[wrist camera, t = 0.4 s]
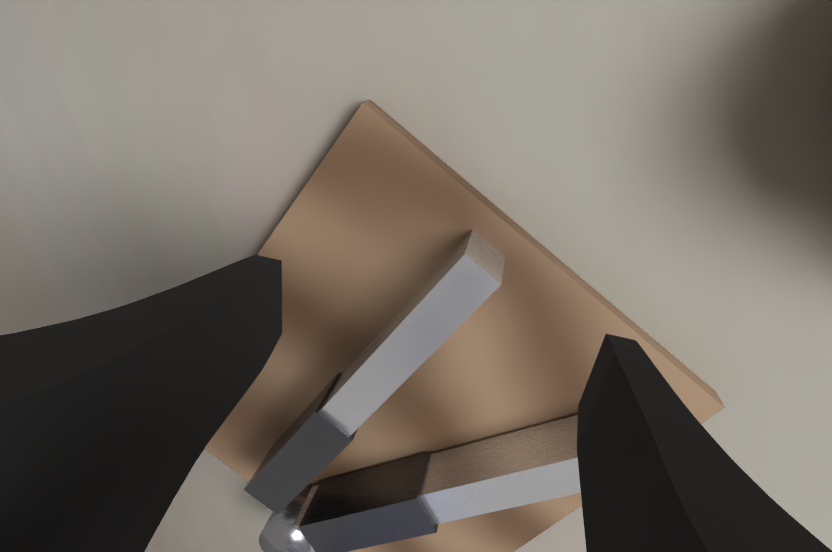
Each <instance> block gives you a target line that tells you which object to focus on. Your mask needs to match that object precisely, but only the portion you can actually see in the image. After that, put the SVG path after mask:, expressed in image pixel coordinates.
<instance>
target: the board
mask: <svg viewBox="0 0 832 552" xmlns="http://www.w3.org/2000/svg"><path fill="white" fill-rule="evenodd" d="M472 230H474V231H475V232H476V233H478V234H479V235H480V236H481V237H482V238H484V239H485V240H486V241H487V242H488V243H490V244H491V245H492V246H493V247H494V248H496V249H497V250H498V251H499V252H500V253H502V254H503V255H504V256H505V261H504V268H503V276H502V283H501V285H500V286H499V287H498V288H497V289H496V290H495V291H494V292H493V293H492V294H491V295H490V296H489V297H488V298H487V299H486V300H485V301H484V302H483V303H482V304H481V305H480V306H479V307H478V308H477V309H476V310H475V311H474V312H473V313H472V314H471V315H470V316H469V317H468V318H467V319H466V321H465V322H464V323H463V324H462V325H461V326H460V327H459V328H458V329H457V330H456V331H455V332H454V333H453V334H452V335H451V336H450V337H449V338H448V339H447V340H446V341H445V342H444V343H443V344H442V345H441V346H440V347H439V348H438V349H437V350H436V351H435V352H434V353H433V354H432V355H431V356H430V357H429V358H428V359H427V360H426V361H425V362H424V363H423V364H422V365H421V366H420V367H419V368H418V369H417V370H416V371H415V372H414V373H413V374H412V375H411V376H410V377H409V378H408V379H407V380H406V381H405V382H404V383H403V384H402V385H401V386H400V387H399V388H398V389H397V390H396V391H395V392H394V393H393V394H392V395H391V396H390V397H389V398H388V399H387V400H386V401H385V402H384V403H383V404H382V405H381V406H380V407H379V408H378V409H377V410H376V411H375V412H374V413H373V414H372V415H371V416H370V417H369V418H368V419H367V420H366V421H365V422H364V423H363V424H362V425H361V426H360V427H359V428H358V430H357V432H356V434H355V437H354V439H353V441H352V442H351V443H350V444H349V445H348V446H347V447H346V448H345V449H344V450H343V451H342V452H341V453H340V454H339V455H338V456H337V457H336V458H335V459H334V460H332V461H331V462H330V463H329V464H328V465H327V466H326V467H325V468H324V469H323V470H322V471H321V472H320V473H319V474H318V475H317V476H316V477H315V478H314V479H313V480H312V481H311V482H310V483H309V484H308V485H310V486H315V485H319V484H320V482H321V481H324V480H327V479H331V478H335V477H338V476H342V475H346V474H349V473H353V472H357V471H360V470H364V469H368V468H371V467H375V466H379V465H382V464H386V463H390V462H394V461H397V460H401V459H405V458H408V457H412V456H416V455H419V454H423V453H427V452H429V454H434V453H438V452H441V451H445V450H449V449H452V448H456V447H460V446H464V445H467V444H471V443H475V442H478V441H482V440H486V439H490V438H493V437H497V436H501V435H504V434H508V433H512V432H516V431H519V430H523V429H527V428H530V427H534V426H538V425H542V424H545V423H549V422H553V421H556V420H560V419H564V418H568V417H571V416H575V415H578V405H579V402H580V400H581V397H582V394H583V392H584V389H585V387H586V384H587V381H588V379H589V376H590V373H591V371H592V368H593V366H594V363H595V360H596V358H597V355H598V353H599V350H600V347H601V345H602V342H603V340H604V337H605V334H610V335H615V336H619V337H624V338H628V339H633V340H636V341H637V342H638V344H639V345H640V346H641V347H642V349H643V350H644V351H645V353H646V354H647V355H648V357H649V358H650V359H651V361H652V362H653V363H654V365H655V366H656V368H657V369H658V370H659V372H660V373H661V374H662V376H663V377H664V378H665V380H666V381H667V382H668V384H669V385H670V386H671V388H672V389H673V390H674V392H675V393H676V394H677V395H678V397H679V398H680V399H681V401H682V402H683V403H684V404H685V406H686V407H687V408H688V409H689V411H690V412H691V413H692V414H693V415H694V417H695V418H696V419H697V420H698V421H699V423H700V424H701V423H703V422H704V421H706V420H707V419H709V418H710V417H712V416H713V415H714V414H716V413H717V412H719V411H720V410H722V409H723V408H725V407H724V405H723V404H722V402H721V400H720V398H719V396H718V394H717V393H716V392H715V391H714V390H713V389H712V388H711V387H709V386H708V385H707V384H706V383H705V382H703V381H702V380H701V379H700V378H699V377H698V376H696V375H695V374H694V373H693V372H692V371H690V370H689V369H688V368H687V367H686V366H685V365H683V364H682V363H681V362H680V361H679V360H677V359H676V358H675V357H674V356H673V355H672V354H670V353H669V352H668V351H667V350H666V349H664V348H663V347H662V346H661V345H660V344H659V343H657V342H656V341H655V340H654V339H653V338H651V337H650V336H649V335H648V334H647V333H646V332H644V331H643V330H642V329H641V328H640V327H638V326H637V325H636V324H635V323H634V322H632V321H631V320H630V319H629V318H628V317H627V316H625V315H624V314H623V313H622V312H621V311H619V310H618V309H617V308H616V307H615V306H614V305H612V304H611V303H610V302H609V301H608V300H606V299H605V298H604V297H603V296H602V295H601V294H599V293H598V292H597V291H596V290H595V289H593V288H592V287H591V286H590V285H589V284H588V283H586V282H585V281H584V280H583V279H582V278H580V277H579V276H578V275H577V274H576V273H575V272H573V271H572V270H571V269H570V268H569V267H567V266H566V265H565V264H564V263H563V262H562V261H560V260H559V259H558V258H557V257H556V256H554V255H553V254H552V253H551V252H550V251H549V250H547V249H546V248H545V247H544V246H543V245H541V244H540V243H539V242H538V241H537V240H536V239H534V238H533V237H532V236H531V235H530V234H528V233H527V232H526V231H525V230H524V229H523V228H521V227H520V226H519V225H518V224H517V223H515V222H514V221H513V220H512V219H511V218H510V217H508V216H507V215H506V214H505V213H504V212H502V211H501V210H500V209H499V208H498V207H497V206H495V205H494V204H493V203H492V202H491V201H489V200H488V199H487V198H486V197H485V196H483V195H482V194H481V193H480V192H479V191H478V190H476V189H475V188H474V187H473V186H472V185H470V184H469V183H468V182H467V181H466V180H465V179H463V178H462V177H461V176H460V175H459V174H457V173H456V172H455V171H454V170H453V169H452V168H450V167H449V166H448V165H447V164H446V163H444V162H443V161H442V160H441V159H440V158H439V157H437V156H436V155H435V154H434V153H433V152H431V151H430V150H429V149H428V148H427V147H426V146H424V145H423V144H422V143H421V142H420V141H418V140H417V139H416V138H415V137H414V136H413V135H411V134H410V133H409V132H408V131H407V130H405V129H404V128H403V127H402V126H401V125H400V124H398V123H397V122H396V121H395V120H394V119H392V118H391V117H390V116H389V115H388V114H387V113H385V112H384V111H383V110H382V109H381V108H379V107H378V106H377V105H376V104H375V103H374V102H372V101H371V100H369V101H365V102H363V103H362V104H361V106H360V107H359V109H358V110H357V111H356V113H355V114H354V116H353V117H352V119H351V120H350V122H349V123H348V124H347V126H346V127H345V129H344V130H343V132H342V133H341V135H340V136H339V137H338V139H337V140H336V142H335V143H334V145H333V146H332V148H331V149H330V150H329V152H328V153H327V155H326V156H325V158H324V159H323V161H322V162H321V163H320V165H319V166H318V168H317V169H316V171H315V172H314V174H313V175H312V176H311V178H310V179H309V181H308V182H307V184H306V185H305V187H304V188H303V189H302V191H301V192H300V194H299V195H298V197H297V198H296V200H295V201H294V202H293V204H292V205H291V207H290V208H289V210H288V211H287V212H286V214H285V215H284V217H283V218H282V220H281V221H280V223H279V224H278V225H277V227H276V228H275V230H274V231H273V233H272V234H271V236H270V237H269V238H268V240H267V241H266V243H265V244H264V246H263V247H262V249H261V250H260V251H259V253H258V254H257V255H259V256H264V257H268V258H273V259H277V260H281V261H282V335H281V337H280V338H279V340H278V342H277V344H276V346H275V348H274V350H273V352H272V354H271V356H270V357H269V359H268V361H267V363H266V364H265V366H264V368H263V370H262V371H261V372H260V374H259V375H258V377H257V378H256V379H255V381H254V382H253V383H252V385H251V386H250V388H249V389H248V390H247V392H246V393H245V394H244V396H243V397H242V398H241V400H240V401H239V402H238V404H237V405H236V406H235V408H234V409H233V410H232V412H231V413H230V414H229V416H228V417H227V418H226V420H225V421H224V422H223V424H222V425H221V426H220V428H219V429H218V431H217V432H216V433H215V435H214V436H213V437H212V439H211V440H210V441H209V443H208V444H207V445H206V447H205V448H204V449H205V450H207V451H208V452H209V453H211V454H212V455H213V456H215V457H216V458H218V459H219V460H220V461H222V462H223V463H224V464H226V465H227V466H228V467H230V468H231V469H232V470H234V471H235V472H236V473H238V474H239V475H241V476H242V477H243V478H245V479H246V480H247V481H250V479H251V478H252V476H253V475H254V473H255V472H256V470H257V469H258V467H259V465H260V464H261V462H262V461H263V459H264V458H265V456H266V455H267V453H268V452H269V450H270V449H271V447H272V446H273V445H274V444H275V442H276V441H277V440H278V439H279V438H280V437H281V436H282V435H283V434H284V432H285V431H286V430H287V429H288V428H289V427H290V426H291V425H292V424H293V422H294V421H295V420H296V419H297V418H298V417H299V416H300V415H301V414H302V412H303V411H304V410H305V409H306V408H307V407H308V406H309V405H310V404H311V402H312V401H313V400H314V399H315V398H316V397H317V396H318V395H319V394H320V393H321V391H322V390H323V389H324V388H325V387H326V386H327V385H328V384H329V383H330V381H331V380H332V379H333V378H334V377H335V376H336V375H337V374H338V373H339V372H340V373H341V374H342V373H343V372H344V371H345V370H346V369H347V368H348V367H349V365H350V364H351V363H352V362H353V361H354V360H355V359H356V358H357V357H358V355H359V354H360V353H361V352H362V351H363V350H364V349H365V348H366V347H367V346H368V344H369V343H370V342H371V341H372V340H373V339H374V338H375V337H376V336H377V335H378V333H379V332H380V331H381V330H382V329H383V328H384V327H385V326H386V325H387V324H388V322H389V321H390V320H391V319H392V318H393V317H394V316H395V315H396V314H397V313H398V311H399V310H400V309H401V308H402V307H403V306H404V305H405V304H406V303H407V301H408V300H409V299H410V298H411V297H412V296H413V295H414V294H415V293H416V292H417V290H418V289H419V288H420V287H421V286H422V285H423V284H424V283H425V282H426V281H427V279H428V278H429V277H430V276H431V275H432V274H433V273H434V272H435V271H436V270H437V268H438V267H439V266H440V265H441V264H442V263H443V262H444V261H445V260H446V259H447V257H448V256H449V255H450V254H451V253H452V252H453V251H454V250H455V249H456V247H457V246H458V245H459V244H460V243H461V242H462V241H463V240H464V239H465V238H466V236H467V235H468V234H469V233H470V232H471V231H472ZM581 505H582V498H581V493H577V494H573V495H568V496H564V497H559V498H554V499H550V500H545V501H541V502H536V503H532V504H527V505H522V506H518V507H513V508H509V509H504V510H500V511H495V512H490V513H486V514H481V515H477V516H472V517H468V518H463V519H458V520H454V521H449V522H445V523H440V524H438V529H437V533H433V534H428V535H424V536H419V537H414V538H410V539H405V540H400V541H396V542H391V543H386V544H381V545H377V546H372V547H367V548H363V549H358V550H353V551H349V552H514V551H516V550H517V549H518V548H520V547H521V546H523V545H524V544H526V543H527V542H529V541H530V540H532V539H533V538H535V537H536V536H537V535H539V534H540V533H542V532H543V531H545V530H546V529H548V528H549V527H551V526H552V525H554V524H555V523H556V522H558V521H559V520H561V519H562V518H564V517H565V516H567V515H568V514H570V513H571V512H573V511H574V510H575V509H577V508H578V507H580V506H581Z"/></svg>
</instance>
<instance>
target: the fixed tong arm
mask: <svg viewBox="0 0 832 552" xmlns="http://www.w3.org/2000/svg"><path fill="white" fill-rule="evenodd" d="M504 261H505V256H504V255H503V254H502V253H500V252H499V251H498V250H497V249H496V248H494V247H493V246H492V245H491V244H490V243H488V242H487V241H486V240H485V239H484V238H482V237H481V236H480V235H479V234H478V233H476V232H475V231H474V230H472V231H471V232H470V233H469V234H468V235H467V236H466V238H465V239H464V240H463V241H462V242H461V243H460V244H459V245H458V246H457V247H456V249H455V250H454V251H453V252H452V253H451V254H450V255H449V256H448V257H447V259H446V260H445V261H444V262H443V263H442V264H441V265H440V266H439V267H438V268H437V270H436V271H435V272H434V273H433V274H432V275H431V276H430V277H429V278H428V279H427V281H426V282H425V283H424V284H423V285H422V286H421V287H420V288H419V289H418V290H417V292H416V293H415V294H414V295H413V296H412V297H411V298H410V299H409V300H408V301H407V303H406V304H405V305H404V306H403V307H402V308H401V309H400V310H399V311H398V313H397V314H396V315H395V316H394V317H393V318H392V319H391V320H390V321H389V322H388V324H387V325H386V326H385V327H384V328H383V329H382V330H381V331H380V332H379V333H378V335H377V336H376V337H375V338H374V339H373V340H372V341H371V342H370V343H369V344H368V346H367V347H366V348H365V349H364V350H363V351H362V352H361V353H360V354H359V355H358V357H357V358H356V359H355V360H354V361H353V362H352V363H351V364H350V365H349V367H348V368H347V369H346V370H345V371H344V372H343V373H342V374H341V373H340V372H339V373H338V374H337V375H336V376H335V377H334V378H333V379H332V380H331V381H330V383H329V384H328V385H327V386H326V387H325V388H324V389H323V390H322V391H321V393H320V394H319V395H318V396H317V397H316V398H315V399H314V400H313V401H312V402H311V404H310V405H309V406H308V407H307V408H306V409H305V410H304V411H303V412H302V414H301V415H300V416H299V417H298V418H297V419H296V420H295V421H294V422H293V424H292V425H291V426H290V427H289V428H288V429H287V430H286V431H285V432H284V434H283V435H282V436H281V437H280V438H279V439H278V440H277V441H276V442H275V444H274V445H273V446H272V447H271V449H270V450H269V452H268V453H267V455H266V456H265V458H264V459H263V461H262V462H261V464H260V465H259V467H258V469H257V470H256V472H255V473H254V475H253V476H252V478H251V479H250V481H249V482H248V484H247V485H246V487H245V488H244V490H245V491H246V492H248V493H249V494H251V495H252V496H253V497H255V498H256V499H257V500H259V501H260V502H261V503H263V504H264V505H266V506H267V507H268V508H270V509H271V510H272V511H274V512H275V513H276V514H279V513H280V512H281V511H282V510H283V509H284V508H285V507H286V506H287V505H288V504H289V503H290V502H291V501H292V500H293V499H294V498H295V497H296V496H297V495H298V494H299V493H300V492H301V491H302V490H303V489H304V488H305V487H306V486H307V485H308V484H309V483H310V482H311V481H312V480H313V479H314V478H315V477H316V476H317V475H318V474H319V473H320V472H321V471H322V470H323V469H324V468H325V467H326V466H327V465H328V464H329V463H330V462H331V461H332V460H334V459H335V458H336V457H337V456H338V455H339V454H340V453H341V452H342V451H343V450H344V449H345V448H346V447H347V446H348V445H349V444H350V443H351V442H352V441H353V439H354V437H355V434H356V432H357V430H358V428H359V427H360V426H361V425H362V424H363V423H364V422H365V421H366V420H367V419H368V418H369V417H370V416H371V415H372V414H373V413H374V412H375V411H376V410H377V409H378V408H379V407H380V406H381V405H382V404H383V403H384V402H385V401H386V400H387V399H388V398H389V397H390V396H391V395H392V394H393V393H394V392H395V391H396V390H397V389H398V388H399V387H400V386H401V385H402V384H403V383H404V382H405V381H406V380H407V379H408V378H409V377H410V376H411V375H412V374H413V373H414V372H415V371H416V370H417V369H418V368H419V367H420V366H421V365H422V364H423V363H424V362H425V361H426V360H427V359H428V358H429V357H430V356H431V355H432V354H433V353H434V352H435V351H436V350H437V349H438V348H439V347H440V346H441V345H442V344H443V343H444V342H445V341H446V340H447V339H448V338H449V337H450V336H451V335H452V334H453V333H454V332H455V331H456V330H457V329H458V328H459V327H460V326H461V325H462V324H463V323H464V322H465V321H466V319H467V318H468V317H469V316H470V315H471V314H472V313H473V312H474V311H475V310H476V309H477V308H478V307H479V306H480V305H481V304H482V303H483V302H484V301H485V300H486V299H487V298H488V297H489V296H490V295H491V294H492V293H493V292H494V291H495V290H496V289H497V288H498V287H499V286H500V285H501V283H502V276H503V268H504Z"/></svg>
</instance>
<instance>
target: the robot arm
mask: <svg viewBox="0 0 832 552" xmlns="http://www.w3.org/2000/svg"><path fill="white" fill-rule="evenodd" d="M281 335H282V261H281V260H277V259H273V258H268V257H264V256H259V255H255V256H252V257H249V258H246V259H243V260H240V261H238V262H235V263H233V264H230V265H228V266H226V267H223V268H221V269H218V270H216V271H214V272H211V273H209V274H206V275H204V276H201V277H199V278H197V279H194V280H192V281H189V282H187V283H184V284H182V285H179V286H177V287H174V288H172V289H169V290H166V291H163V292H161V293H158V294H155V295H152V296H150V297H147V298H144V299H142V300H139V301H136V302H133V303H130V304H127V305H124V306H121V307H118V308H115V309H112V310H108V311H105V312H101V313H98V314H94V315H91V316H87V317H84V318H80V319H76V320H72V321H68V322H64V323H59V324H54V325H50V326H45V327H41V328H36V329H31V330H27V331H22V332H18V333H12V334H7V335H1V336H0V552H144V551H145V549H146V547H147V545H148V543H149V542H150V540H151V538H152V536H153V534H154V533H155V531H156V529H157V527H158V526H159V524H160V522H161V520H162V518H163V517H164V515H165V513H166V511H167V509H168V508H169V506H170V504H171V502H172V500H173V499H174V497H175V495H176V494H177V492H178V490H179V489H180V487H181V485H182V484H183V482H184V480H185V479H186V477H187V475H188V473H189V472H190V470H191V468H192V467H193V465H194V463H195V462H196V460H197V459H198V457H199V456H200V454H201V453H202V451H203V450H204V448H205V447H206V445H207V444H208V443H209V441H210V440H211V439H212V437H213V436H214V435H215V433H216V432H217V431H218V429H219V428H220V426H221V425H222V424H223V422H224V421H225V420H226V418H227V417H228V416H229V414H230V413H231V412H232V410H233V409H234V408H235V406H236V405H237V404H238V402H239V401H240V400H241V398H242V397H243V396H244V394H245V393H246V392H247V390H248V389H249V388H250V386H251V385H252V383H253V382H254V381H255V379H256V378H257V377H258V375H259V374H260V372H261V371H262V370H263V368H264V366H265V364H266V363H267V361H268V359H269V357H270V356H271V354H272V352H273V350H274V348H275V346H276V344H277V342H278V340H279V338H280V337H281ZM577 457H578V468H579V478H580V488H581V498H582V508H583V518H584V528H585V538H586V549H587V552H832V551H831V550H830V549H829V548H828V547H826V546H825V545H824V544H823V543H822V542H820V541H819V540H818V539H817V538H816V537H815V536H813V535H812V534H811V533H810V532H809V531H808V530H806V529H805V528H804V527H803V526H802V525H801V524H800V523H798V522H797V521H796V520H795V519H794V518H793V517H791V516H790V515H789V514H788V513H787V512H786V511H785V510H784V509H782V508H781V507H780V506H779V505H778V504H777V503H776V502H775V501H774V500H773V499H771V498H770V497H769V496H768V495H767V494H766V493H765V492H764V491H763V490H762V489H761V488H760V487H759V486H758V485H757V484H756V483H755V482H754V481H753V480H752V479H751V478H750V477H749V476H748V475H747V474H746V473H745V472H744V471H743V470H742V469H741V468H740V467H739V466H738V465H737V464H736V463H735V462H734V461H733V460H732V459H731V458H730V457H729V456H728V455H727V453H726V452H725V451H724V450H723V449H722V448H721V447H720V446H719V444H718V443H717V442H716V441H715V440H714V439H713V438H712V437H711V435H710V434H709V433H708V432H707V431H706V430H705V429H704V427H703V426H702V425H701V424H700V423H699V421H698V420H697V419H696V418H695V417H694V415H693V414H692V413H691V412H690V411H689V409H688V408H687V407H686V406H685V404H684V403H683V402H682V401H681V399H680V398H679V397H678V395H677V394H676V393H675V392H674V390H673V389H672V388H671V386H670V385H669V384H668V382H667V381H666V380H665V378H664V377H663V376H662V374H661V373H660V372H659V370H658V369H657V368H656V366H655V365H654V363H653V362H652V361H651V359H650V358H649V357H648V355H647V354H646V353H645V351H644V350H643V349H642V347H641V346H640V345H639V344H638V342H637V341H636V340H633V339H628V338H624V337H619V336H615V335H610V334H605V337H604V340H603V342H602V345H601V347H600V350H599V353H598V355H597V358H596V360H595V363H594V366H593V368H592V371H591V373H590V376H589V379H588V381H587V384H586V387H585V389H584V392H583V394H582V397H581V400H580V402H579V405H578V424H577Z"/></svg>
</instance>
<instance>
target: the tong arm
mask: <svg viewBox="0 0 832 552" xmlns="http://www.w3.org/2000/svg"><path fill="white" fill-rule="evenodd" d="M577 424H578V415H575V416H571V417H568V418H564V419H560V420H556V421H553V422H549V423H545V424H542V425H538V426H534V427H530V428H527V429H523V430H519V431H516V432H512V433H508V434H504V435H501V436H497V437H493V438H490V439H486V440H482V441H478V442H475V443H471V444H467V445H464V446H460V447H456V448H452V449H449V450H445V451H441V452H438V453H434V454H429V452H427V453H423V454H419V455H416V456H412V457H408V458H405V459H401V460H397V461H394V462H390V463H386V464H382V465H379V466H375V467H371V468H368V469H364V470H360V471H357V472H353V473H349V474H346V475H342V476H338V477H335V478H331V479H327V480H324V481H321V482H320V484H319V485H315V486H310V485H307V486H306V487H305V488H304V489H303V490H302V491H301V492H300V493H299V494H298V495H297V496H296V497H295V498H294V499H293V500H292V501H291V502H290V503H289V504H288V505H287V506H286V507H285V508H284V509H283V510H282V511H281V512H280V513H279V514H276V513H275V512H274V511H273V513H272V515H271V516H270V518H269V520H268V522H267V523H266V525H265V527H264V529H263V531H262V532H261V534H260V537H259V544H260V547H261V549H262V550H263V552H312V551H315V552H349V551H353V550H358V549H363V548H367V547H372V546H377V545H381V544H386V543H391V542H396V541H400V540H405V539H410V538H414V537H419V536H424V535H428V534H433V533H437V529H438V524H440V523H445V522H449V521H454V520H458V519H463V518H468V517H472V516H477V515H481V514H486V513H490V512H495V511H500V510H504V509H509V508H513V507H518V506H522V505H527V504H532V503H536V502H541V501H545V500H550V499H554V498H559V497H564V496H568V495H573V494H577V493H581V488H580V478H579V468H578V457H577Z"/></svg>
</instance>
